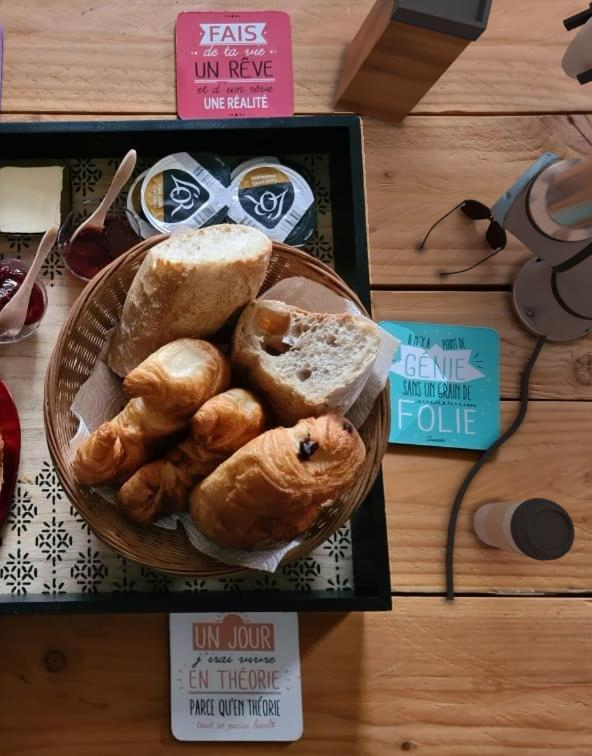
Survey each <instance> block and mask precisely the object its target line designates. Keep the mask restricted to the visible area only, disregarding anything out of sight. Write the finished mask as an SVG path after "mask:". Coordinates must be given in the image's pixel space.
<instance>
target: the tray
mask: <svg viewBox="0 0 592 756" xmlns="http://www.w3.org/2000/svg"><path fill="white" fill-rule="evenodd" d="M492 4H493V0H394V4H393V8H392V12H391V16H390V20H392V21H396V22H399V23H403V24H407V25H411V26H415V27H419V28H423V29H427V30H431V31H435V32H439V33H443V34H446V35H450V36H454V37H458V38H462V39H466V40H470V41H472V42H473V43H474V42H477V40H478V39H480V37H481V36H482V35H483V33H485V32H486V31H487V27H488V23H489V17H490V14H491V9H492Z"/></svg>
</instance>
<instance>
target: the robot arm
mask: <svg viewBox="0 0 592 756" xmlns="http://www.w3.org/2000/svg"><path fill="white" fill-rule="evenodd" d="M588 6H589V7H588V8H587V9H585V10H583V11H580V12H579V13H576V14H573V15H571V16H569V17H567V18H565V19H563V20H562V24H563V26H564V28H565V29H566V31H567V32H571V31H572V30H575V29H577V28H580V27H583V25H584V24H585V23H586V22H587V21H588V20H589V19H590V18H591V17H592V1H590V2H589V3H588ZM576 76H577V79H576V80H577V81H578V83H579V84H580V86H583V85H586V84H588V83H590V82H592V69H590V70H587V71H585V72H583V73H580V74H578V75H576ZM490 209H491V215H492V216H491V217H493V218H494V220H496V221H497V222H498V223H499V224H500V226H501V227H502V228H503V229H505V231H506V230H507V232H509V233H510V234H511V235H512V236H513V237H515V239H517V240H518V241H519V242H520V243H522V244H523V245H524V246H525V247H526V248H527V249H529V250H530V251H531V252H532V253H533V254H534V255H536V256H534V257H532V258H531V259H529V260H527V261H525V262H524V263H523V264H521V265H520V266H519V267H518V268H517V270H516V271H515V273H514V274H513V276H512V278H511V281H510V283H509V289H508V301H509V306H510V309H511V311H512V314H513V316H514V318H515V319H516V321H517V322H518V324H519V325H520V326H521V327H522V328H523V329H524V330H525V331H526V332H527V333H529V334H531V335H532V336H534V337H536V338H538V340H537V342H536V345H535V346H534V349H533V351H532V353H531V355H530V358H529V359H528V361H527V363H526V365H525V368H524V371H523V374H522V380H521V398H520V399H521V400H520V408H519V412H518V415H517V416H516V419H515V421H514V423H513V424H512V425H511V427H510V428H509V429H508V430H507V431H506V432H505V433H504V434H503V435H502V436H501V437H499V438H498V439H497V440H495V441H494V443H492V444H491V445H490V446H489V447H488V448H487V449H486V450H485V452H484V453H483V454H482V455H481V457H480V458H479V459H478V461H476V463H475V464H474V465H473V466H472V468H471V470H470V471H469V472H468V473H467V475H466V477H465V478H464V480H463V482H462V483H461V486H460V488H459V490H458V492H457V494H456V497H455V500H454V501H453V502H454V503H453V506H452V509H451V513H450V518H449V523H448V531H447V542H446V555H445V570H446V571H445V573H446V600H447V601H454V600H455V599H454V598H455V595H454V592H455V591H454V590H455V589H454V545H455V535H456V526H457V520H458V515H459V511H460V508H461V505H462V501H463V499H464V497H465V494H466V492H467V490H468V488H469V486H470V484H471V483H472V481H473V480H474V478H475V477H476V475H477V474H478V472H479V471H480V470H481V469H482V468H483V466H484V464H485V463H486V462H487V461H488V460H489V458H490V457H491V456H492V455H493V453H494V452H495V451H496V450H497V449H498V448H499V447H501V445H503V444H504V443H506V441H508V440H509V439H510V438H511V437H513V435H514V434H515V433H516V432H517V430H518V429H520V427H521V425H522V424H523V422H524V419H525V417H526V414H527V410H528V404H529V383H530V377H531V373H532V370H533V367H534V365H535V363H536V361H537V360H538V358H539V355H540V353H541V351H542V348H543V346H544V345H545V342H546V341H547V342H553V343H561V342H562V343H563V342H568V341H573V340H575V339H578V338H581V337H583V336H585V335H587V334H588V333H590V332H591V331H592V156H591V157H588V158H581V157H574V158H573V157H572V158H566V159H563V158H562V157H561V156H560V155H557V154H555V153H553V152H551V151H547V152H544V153H542V154H541V156H540V157H538V158H537V159H536V161H534V163H533V164H532V165H531V166H529V168H527V170H526V171H524V173H522V175H521V176H519V178H518V179H517V180H516V181H515V182H514V183H513V184H512V185H511V186H510V187H508V189H507V190H506V191H505V192H504V193H503V194H502V195H501V196H500V197H499V198H498V199H497V200H496V201H495V202H494V203H493V204H492V205H491V208H490Z"/></svg>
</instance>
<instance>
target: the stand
mask: <svg viewBox="0 0 592 756" xmlns="http://www.w3.org/2000/svg"><path fill="white" fill-rule="evenodd" d="M393 4H394V0H375V2H374V4H373V6H372V7H371V8H370V11H369V13H368V14H367V15H366V17H365V19H364V21H363V22H362V24H361V26H360V27H359V29H358V30H357V32H356V34H355V36H354V37H353V39H352V40H351V42H350V44H349V45H348V47H347V50H346V54H345V59H344V63H343V67H342V71H341V75H340V79H339V83H338V88H337V91H336V96H335V99H334V103H333V108H335V109H338V110H343V111H346V112H349V113H350V112H351V113H353V114H358V115H361V116H366V117H369V118H374V119H376V120H380V121H385V122H389V123H391V124H392V123H393V124H396V125H400V124H401V123H402V122H403V121H404V120H405V119H406V118H407V116H408V115H409V114H410V112H412V111H413V109H415V107H416V106H417V105H418V104H419V103H420V101H421V100H422V99H423V98H424V97H425V96H426V95H427V93H428V92H429V91H430V90H431V89H432V88H433V86H434V85H435V84H436V83H437V82H438V81H439V80H440V79H441V77H442V76H443V75H444V74H445V73H446V72H447V70H448V69H449V68H450V67H451V66H452V65H453V64H454V62H455V61H456V60H457V59H458V58H459V57H460V56H461V55H462V53H463V52H464V51H465V50H466V49H467V48H468V47H469V45H471V43H472V42H473V41H470V40H466V39H462V38H458V37H454V36H450V35H446V34H443V33H439V32H435V31H431V30H427V29H423V28H419V27H415V26H411V25H407V24H403V23H399V22H396V21H392V20H390V16H391V12H392V8H393Z"/></svg>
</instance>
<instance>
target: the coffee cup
mask: <svg viewBox="0 0 592 756" xmlns="http://www.w3.org/2000/svg"><path fill="white" fill-rule="evenodd" d="M472 524H473V529H474V532H475V534H476V535H477V537H478V538H479V539H480V540H481V542H483V543H484V544H486V545H488V546H491V547H495V548H498V549H499V550H502V551H506V552H510V553H512V554H515V555H519V556H523V557H526V558H530V559H532V560H536V561H542V562H543V561H544V562H546V561H555V560H559V559H561V558H562V557H564V556H565V555H567V554H568V553H569V552H570V550H571V548H572V547H573V544H574V541H575V526H574V522H573V520H572V518H571V516H570V515H569V513H568V511H567V510H566V509H564V507H563V506H561V505H560V504H558V503H557V502H555V501H553V500H550V499H547V498H544V497H532V498H529V499H528V498H526V499H515V500H505V501H499V502H492V503H491V502H490V503H485V504H483V505H482V506H480V507H479V508H478V509H477V511H476V512H475V513H474V516H473V522H472Z"/></svg>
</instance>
